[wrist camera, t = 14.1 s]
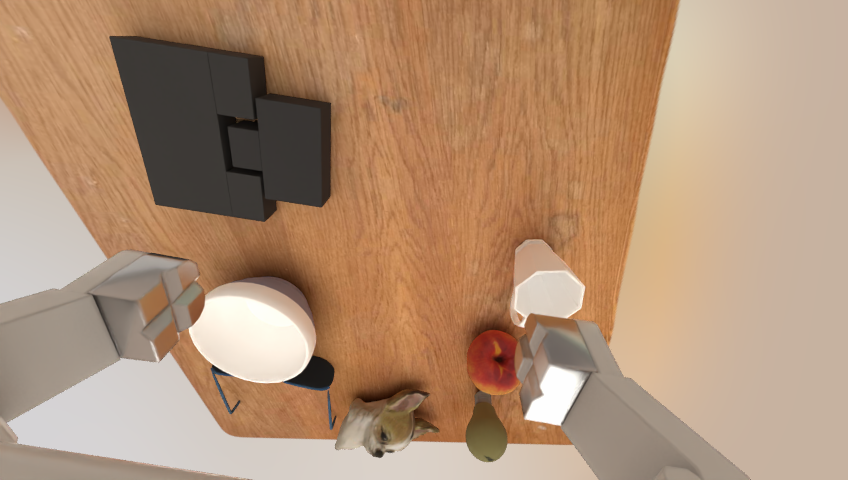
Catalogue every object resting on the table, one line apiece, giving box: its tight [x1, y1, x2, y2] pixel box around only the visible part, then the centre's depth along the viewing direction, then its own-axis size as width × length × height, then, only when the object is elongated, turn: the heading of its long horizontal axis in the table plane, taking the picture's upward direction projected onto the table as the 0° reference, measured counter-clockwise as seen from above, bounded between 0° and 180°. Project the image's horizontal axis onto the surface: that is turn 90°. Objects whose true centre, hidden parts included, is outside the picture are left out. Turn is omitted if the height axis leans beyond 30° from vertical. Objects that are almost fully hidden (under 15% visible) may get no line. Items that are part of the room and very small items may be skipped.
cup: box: [510, 239, 585, 328], centre depth 38 cm, size 7×10×8 cm
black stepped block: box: [228, 93, 331, 207], centre depth 36 cm, size 10×9×3 cm
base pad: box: [109, 36, 277, 222], centre depth 35 cm, size 16×12×3 cm
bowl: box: [189, 276, 316, 383], centre depth 45 cm, size 14×14×8 cm
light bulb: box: [466, 391, 507, 462], centre depth 50 cm, size 6×6×10 cm
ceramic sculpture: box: [335, 389, 439, 458], centre depth 54 cm, size 11×9×15 cm
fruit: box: [467, 330, 521, 395], centre depth 45 cm, size 8×8×8 cm
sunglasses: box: [211, 356, 336, 430], centre depth 55 cm, size 17×15×5 cm
